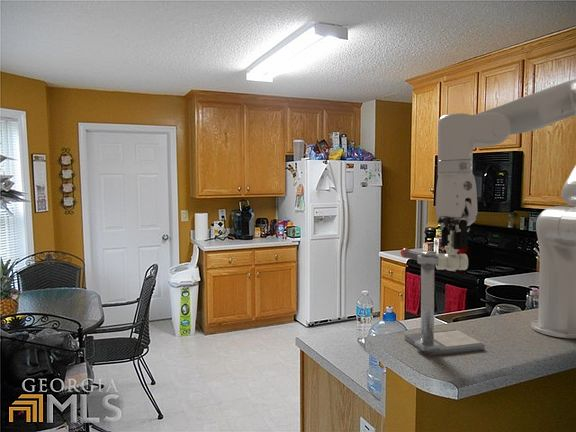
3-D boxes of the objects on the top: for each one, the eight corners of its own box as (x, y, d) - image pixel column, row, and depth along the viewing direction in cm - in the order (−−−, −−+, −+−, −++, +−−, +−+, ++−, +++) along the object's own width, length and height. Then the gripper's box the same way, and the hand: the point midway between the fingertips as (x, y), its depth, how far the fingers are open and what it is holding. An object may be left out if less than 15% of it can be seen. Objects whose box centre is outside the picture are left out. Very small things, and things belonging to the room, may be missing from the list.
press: (455, 334, 111) (456, 244, 110) (484, 349, 101) (486, 250, 99) (401, 339, 108) (401, 247, 106) (425, 356, 97) (425, 254, 96)
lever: (442, 266, 97) (442, 255, 97) (424, 267, 96) (424, 256, 96) (411, 256, 110) (411, 247, 110) (395, 257, 109) (395, 248, 109)
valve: (470, 273, 100) (472, 220, 99) (440, 272, 100) (441, 220, 100) (461, 268, 106) (462, 218, 106) (433, 267, 107) (434, 218, 106)
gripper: (493, 167, 95) (492, 252, 96) (448, 170, 111) (447, 242, 112) (463, 167, 93) (462, 253, 94) (421, 170, 109) (420, 243, 111)
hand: (454, 246), depth 103 cm, fingers closed on valve, 4 cm apart
